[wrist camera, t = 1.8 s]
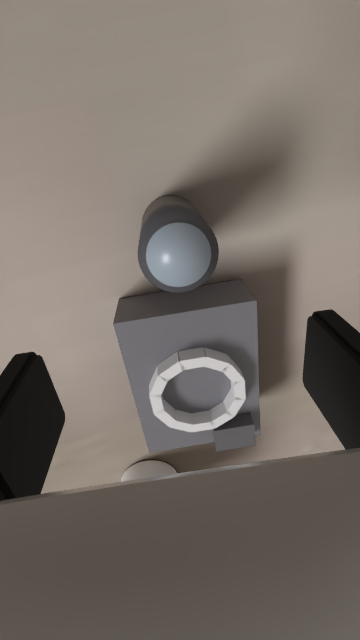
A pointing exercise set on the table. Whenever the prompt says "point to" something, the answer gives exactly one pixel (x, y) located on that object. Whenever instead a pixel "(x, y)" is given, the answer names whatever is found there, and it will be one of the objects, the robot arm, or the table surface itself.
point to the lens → (176, 245)
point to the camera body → (193, 365)
